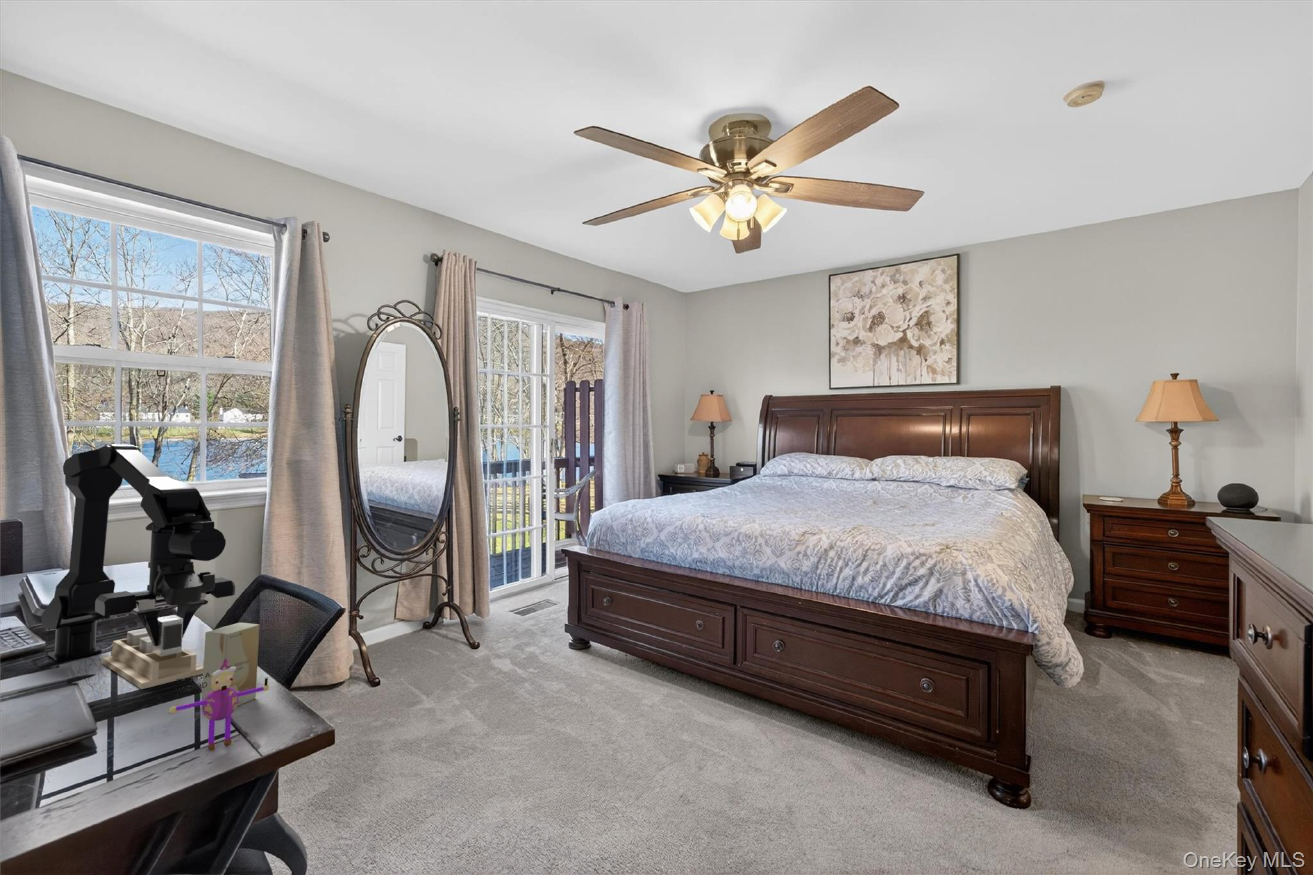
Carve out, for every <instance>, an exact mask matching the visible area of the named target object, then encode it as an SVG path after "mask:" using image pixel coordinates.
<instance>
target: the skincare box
mask: <svg viewBox="0 0 1313 875" xmlns="http://www.w3.org/2000/svg"><path fill="white" fill-rule="evenodd" d="M204 634H205V635H204V638H205V639H204V650H203V654H204V655H203V665H202V666H203V674H202V681H201V684H202V683H203V687H205V686H206V683H207V686H206V687H205V688H202V687H201V700H200V701H203V700H204V699H205V698H206V696H207V695H208V694H209V693H210V692H211V691H213V690H212V687H211V680H212V678H213V677H212V674H213V673H214V672H216V671H217V670H219V669H220V667H221V666H222V664H223V662H224V660H225V658H226V660H227V662H228V664H229V665H230V667H236V670H235V671H234V674H233V676H232V678H233V680H232V681H231V684H230V686H229V687H231V688H233V689H234V690H235V691H236V692H237V693H238V692H242V691H247V690H251V689H255V688H257V682H258V680H257V679H258V659H259V658H258V657H259V642H260V641H259V640H260V624H259V623H258V624H257V623H249V622H237V623H233V624H229V625H226V626H222V627H219V628H216V629H211V630H210V631H209V630H208V631H206V632H205V633H204ZM207 673H209V675H210V677H209V676H208V675H207V677H206V674H207ZM205 677H206V678H205ZM204 682H206V683H204ZM255 697H256V698H257V692H255V693H251V694H247V695H243V696H239V697H238V698H239V699H238V705H237V707H238V706H240V705H241V706H242V705H243V704H245V703H248V702H250V701H252V700H255V699H256V698H255ZM254 698H255V699H254ZM200 710H201V711H202V705H200Z"/></svg>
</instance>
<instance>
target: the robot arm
mask: <svg viewBox="0 0 1313 875" xmlns="http://www.w3.org/2000/svg"><path fill="white" fill-rule="evenodd" d="M62 472H63V475H64V484H65V486H66V487H67V488H68V490H69V491H70V492H71V493H72V495H73V496H74V498H75V501H74V514H73V525H72V536H71V548H70V558H69V569H68V572H67V573H66V574H65V575H64V577H63V578H62V579H61V580H60V581H59V582H58V583H57V584H56V586H55V591H54V597H53V598H52V600H50V602H49V603H48V605H47V606H46V608H45V609H44V611H43V612H42V614H41V615H40V620H41V625H42V627H43V628H48V629H53V630H55V637H54V638H55V640H54V651H53V650H52V651H49V652H48V653H47V654H48V656H49V657H50V658H52V659H53V660H54V661H56V662H60V661H65V660H70V659H75V658H78V657H84V656H88V655H94V654H99V653H102V652H103V649H102V648H100V647H99V646H97V644H96V642H97V641H96V640H97V625H98V624H97V621H99V620H107V619H110V618H111V617H112V616H118V615H119V616H120V615H125V614H129V613H131V614H133V615H135V616H137V617H138V618H139V620H140V622H141V623H142V624H143V626H144V628H146V631H147V633H148V635H149V637H150V639H151V641H152V644H153V645H154V646H158V641H159V630H158V618H159V614H160V612H161V611H160V610H161V609H159V608H156V603H160V602H161V603H163V602H165V603H166V605H169V606H177V607H176V616H178V617H181V618H183V633H182V639H183V638H184V635H185V634H186V632H187V629H188V627H189V625H190V622H191V620H192V618H193V617H194V615H195V613H196V612H197V611H198V609H200V608H201V607H202V606H205V605H207V604H208V603H209V600H207V599H206V596H207V595H211V596H212V597H214V598H216V599H220V598H225V597H226V598H227V597H232V596H234V595H236V585H235V582H234V581H233V580H231V579H228V578H224V577H216V574H215V572H214V571H213V570H207V571H202V572H201V571H200V572H199V573H196V572H195V567H194V566H195V565H194V561H200V562H210V561H212V560H215V559H217V558H219V556H221V555H222V554H223V552H224V550H225V548H226V543H227V539H226V537H225V535H224V534H223V532H222V531H221V530H220V529H217V528H215V522H214V521H212V517H211V514H212V513H211V512H210V510H209V509H208V507H207V505H206V503H205V501H204V499H203V497H202V495H201V493H200V492H199V490H198V489H197V488H196V487H195V486H193V485H191V484H189V483H187V482H185V481H181V480H177V479H173V478H171V477H169V476H168V475H166V473H164V472H163V471H162V470H161V469H160V468H158V466H156V465H155V464H154V463H153V462H152V461H151V460H150V459H148V458H147V457H146V456H145V455H144V454H143V453H142V450H141V448H140V447H139V446H135V445H134V444H108V445H104V446H101V447H100V448H97V449H96V448H95V449H92V450H87V451H83V452H79V453H78V452H75V453H73V454H72V455H71V457H68V458H67V459H65V460H64V462H63V466H62ZM124 480H125V482H126V483H127V484H129V485H130V486H131V487H132V488H133V489H134V490H135V491H136V492H137V493H138V494H139V495H140V496H141V500H140V507H141V509H142V510H143V511H144V512H145V514H146V515H147V517H148V518H149V519H150V520H151V521H152V522H150V523H149V524H147V525H146V526H145V530H146V531H149V532H151V538H150V539H151V540H150V556H149V557H150V558H149V559H150V561H148V564H147V568H148V569H149V580H148V584H147V586H146V591H147V592H146V593H140V594H135V593H132V592H130V591H128V590H126V591H125V590H124V591H118V592H115V587H116V582H115V580H114V579H110V577H109V576H108V575H107V574H106V572H105V571H104V565H105V556H106V543H107V531H108V522H109V521H108V520H109V510H110V509H109V508H110V499H111V497H112V496H113V495H114V494H115V493H116V492H117V491H118V490H119V488H120V487H122V484H123V481H124ZM192 560H193V561H192Z"/></svg>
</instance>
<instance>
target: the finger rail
mask: <svg viewBox="0 0 1313 875" xmlns="http://www.w3.org/2000/svg"><path fill="white" fill-rule="evenodd" d="M126 634H127V635H126V638H122V639H116V640H112V652H111V653H112V654H111V655H109V656H104V657H102V660H101V664H102V665H104V666H105V667H108V668H109V669H110V670H112V671H114V672H115V673H116V674H118V675H119V676H121V677H123V678H124V679H125V680H127V681H129V682H130V683H131V684H133V685H134V686H136V687H137V688H139V689H141V690H144V689H147V688H152V687H156V686H160V685H164V684H167V683H172V682H175V681H177V680H176V679H179V678H180V679H179V681H181V678H182V680H185V677H186V679H187V677H188V678H189V677H190V676H193V677H195V676H196V677H197V675H198V676H199V674H202V675H203V666H204V665H201V664H199V663H197V653H195V652H192V651H190V650H189V649H186V648H185V647H183V646H182V652H180V653H175V654H171V655H166V656H162V657H160V656H159V655H157V654H155V653H153V644H152V641H151V639H150V637H149V635H148V633H147V631H146V628H145V627H144V628H139V629H134V630H129V631H127V632H126Z"/></svg>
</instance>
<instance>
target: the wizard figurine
mask: <svg viewBox="0 0 1313 875" xmlns="http://www.w3.org/2000/svg"><path fill="white" fill-rule="evenodd" d="M235 670H236V667H230V665H229V664H228V662H227V660H226V658H225V660H224V662H223V664H222V666H221V667H220V669H219V670H217V671H216V672H214V673H213V674H212V677H213V678H212V680H211V687H212V690H213V691H211V692H210V693H209V694H208V695H207V696H206V698H205V699H204V700H203V701H201V700H199V701H195V702H189V703H187V704H181V705H177V706H175V705H174V706H171V707H170V708H169V709H168V710H169V713H171V714H175V713H176V712H178V711H182V710H187V709H191V708H194V707H199V706H201V705H202V710H201V711H202V714H203V716H204V717H205V718H206V719H207V720H208V735H207V737H208V740H207V750H210V751H211V750H214V749H215V748H216V743H215V730H216V729H215V727H216V724H215V723H216V722H218V721H222V720H224V741H223V744H224V745H225V746H229V745H231V744H232V742H233V740H232V739H231V732H232V731H231V728H232V714H233V713H234V712H235V711H236V709H237V707H238V706H237V705H238V699H239V698H238V697H239V696H243V695H247V694H251V693H255V692H256V693H258V692H259V693H260V692H262V691H263V692H267V691H268V690H269V689H270V686H269V684H268V682H269V681H268V680H269V676H268V675H265V676H264V685H263V686H260V687H256V688H255V689H251V690H247V691H242V692H238V693H237V692H236V691H235V690H234V689H233V688H231V687H229V686H230V684H231V681H232V680H233V678H232V676H233V674H234V671H235ZM207 675H208V676H209V677H210V675H209V673H207V674H206V677H207ZM193 677H194V676H190V677H187V678H186V677H185V678H184V679H182V678H181V679H180V678H179V679H180V680H179V679H176V681H177V685H179V682H180V683H181V684H183V682H184V683H186V682H187V683H189V682H193V681H194V678H193ZM198 677H199V678H198ZM206 677H205V678H206ZM189 679H190V680H189ZM198 680H199V681H200V680H203V674H199V675H196V681H198ZM204 683H206V682H204ZM196 684H197V686H196V685H195V684H193V685H191V684H190V685H187V686H182V688H181V687H179V688H175V691H176V693H177V694H179V692H180V693H183V691H184V692H185V693H186V692H191V691H193V690H194V689H195V690H198V689H199V688H200V689H202V688H205V687H206V686H207V683H206V686H205V687H203V683H202V682H200V683H199V682H198V683H196ZM186 688H187V689H186ZM190 688H191V689H190Z"/></svg>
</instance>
